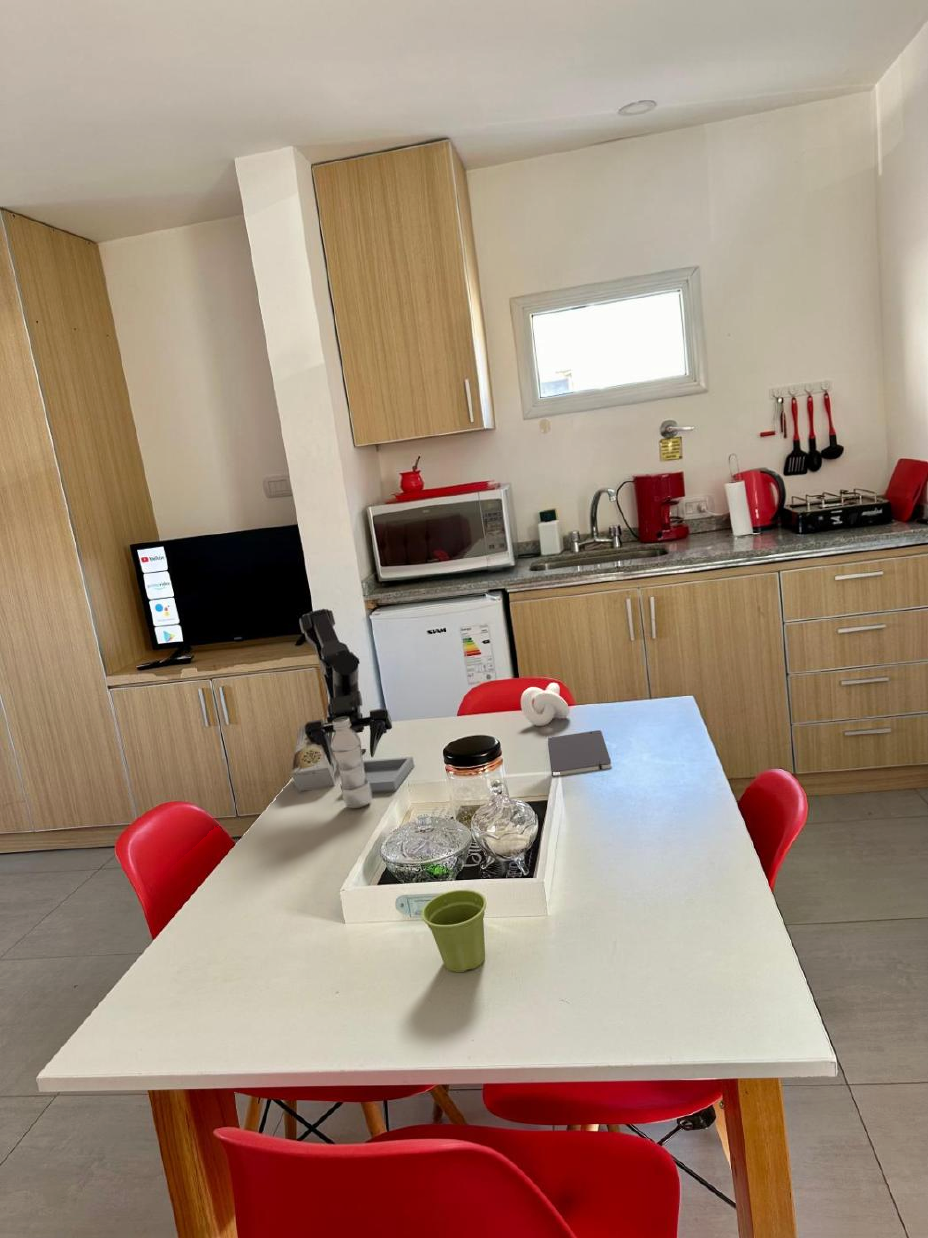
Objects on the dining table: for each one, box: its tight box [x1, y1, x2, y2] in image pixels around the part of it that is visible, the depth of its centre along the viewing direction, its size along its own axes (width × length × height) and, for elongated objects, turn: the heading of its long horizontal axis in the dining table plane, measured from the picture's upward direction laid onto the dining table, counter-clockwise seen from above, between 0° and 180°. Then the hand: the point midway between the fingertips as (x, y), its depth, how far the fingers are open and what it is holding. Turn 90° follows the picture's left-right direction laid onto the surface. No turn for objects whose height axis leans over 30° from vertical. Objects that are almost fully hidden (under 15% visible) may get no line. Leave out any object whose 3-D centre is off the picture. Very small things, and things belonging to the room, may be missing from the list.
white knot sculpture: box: [520, 682, 570, 727], centre depth 219 cm, size 11×12×9 cm
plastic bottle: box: [331, 716, 373, 809], centre depth 186 cm, size 6×7×20 cm
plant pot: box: [421, 889, 487, 973], centre depth 124 cm, size 9×9×9 cm
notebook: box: [547, 729, 612, 776], centre depth 194 cm, size 13×2×21 cm
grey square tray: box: [340, 756, 415, 794], centre depth 200 cm, size 14×13×2 cm
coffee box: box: [290, 722, 338, 792], centre depth 207 cm, size 9×6×16 cm
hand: (351, 760), depth 187 cm, fingers open, 9 cm apart
